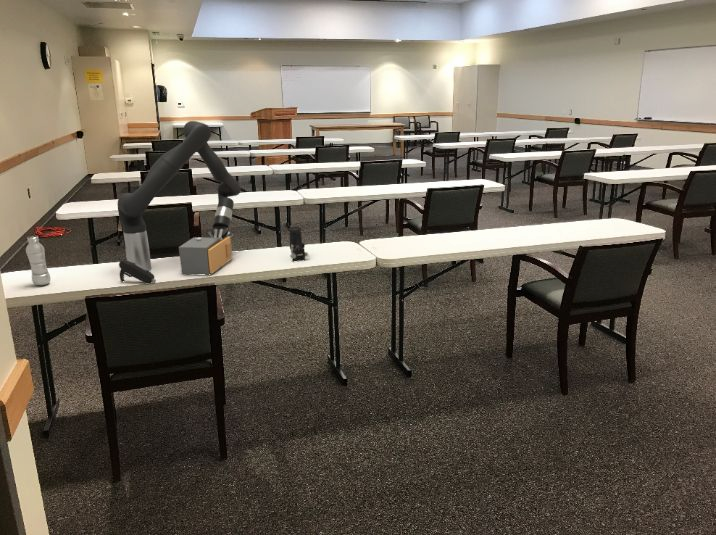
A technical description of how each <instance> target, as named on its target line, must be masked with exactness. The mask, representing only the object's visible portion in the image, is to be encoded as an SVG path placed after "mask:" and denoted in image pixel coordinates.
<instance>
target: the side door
mask: <svg viewBox="0 0 716 535" xmlns="http://www.w3.org/2000/svg"><path fill="white" fill-rule="evenodd" d="M231 240H232V239H230V237H227V238H225V239H224V240H222V241H221V242H219V243H218V244H216V245H215V246H213V247H212V248H210V249H209V250H208V258H209V268H210V273H211V274H213V273H215V272H216V271H217V270H218V269H220V268H221V267H222V266H223V265H225V264H226V263H227V262H229V261H230V260H231V259H233V249H232V241H231Z"/></svg>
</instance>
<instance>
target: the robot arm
mask: <svg viewBox="0 0 716 535" xmlns="http://www.w3.org/2000/svg"><path fill="white" fill-rule="evenodd" d="M182 131H183V136H184V137H185V138H184V140H183V141H182V142H181V143H178V145H177V146H174V147H173V148H171V149H170V150H168V151H166V152H164V153H163V154H161V156H160V157H158V159H157V160H156V161H155V162H154V164H152V165H151V167H150V169H149V171H148V173H147V174H146V177H145V179H144V180H143V182H142V183H141V184H140V185H139V187H138V188H137V189H136V190H134V191H133V192H125V193H123V194H121V195H120V196H119V197H118V200H117V212H118V215H119V221H120V226H121V228H122V232H123V238H124V239H123V240H124V245H125V250H124V251H125V257H126V260H127V261H129V262H132V263H135V264H138V265H140V266H141V267H143V268H145V269H147V270H148V271H151V270H152V267H153V266H152V262H151V254H150V253H151V251H150V246H149V239H148V233H147V225H146V223H145V220H144V218H143V213H144V212H145V211H146V209H147V208H148V207H149V206H150V204H151V203H152V201H153V200H154V198H155V197H156V196H157V195H158V194H159V193H160V192H161V191H162V189H164V187H165V186H166V185H168V183H169V182H170V181H171V180H172V179H173V178H174V177H175V176H176V175H177V173H178V172H179V171H180V170H181V169H182V168H183V166H184V165H186V164H187V162H188V161H189V160H190V159H191V158H192V157H193V156H194V155H195V154H196V153H198V155H199V156H200V158H201V159H202V161H203V163H204V164H205V165H206V167H207V169H208V171H209V172H210V174H211V176H212V178H213V179H214V181H216V182H218V183H219V184H218V186H217V189H216V190H217V198H218V201H217V202H218V203H217V207H216V210H215V214H214V217H213V223H212V228H211V229H210V231H206V232H205V236H206V238H220V242H221V241H222V240H224V239H225V238H227V237H230V240H232V239H233V238H234V235H233V233H232V232H230V227H231V223H232V219H233V218H232V217H233V210H234V200H233V199H232V198H230V197H236V196H238V195H240V193H241V185H240V184H239V182H238V181H237V179H236V178H235V177H233V175H232V174H231V173H230V172H229V171H228V169H227V168H226V166H225V164H224V163H223V161H222V159H221V158H220V157H219V156H218V154H217V153H216V152H215V151H214V150H213V149H212V147H211V146H210V145H209V143H208V142H209V140H210V139H211V137H212V136H211V135H212V130H211V127H210V126H209V125H208V124H206V123H204V122H200V121H195V120H190V121H188V122H186V123H185V124H184V126H183V130H182Z"/></svg>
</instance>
